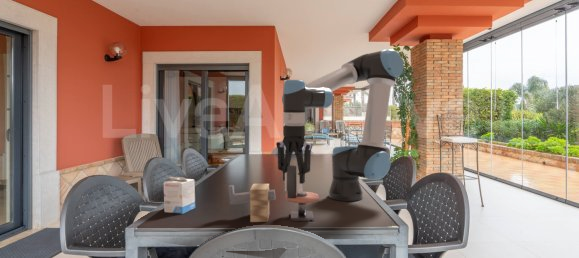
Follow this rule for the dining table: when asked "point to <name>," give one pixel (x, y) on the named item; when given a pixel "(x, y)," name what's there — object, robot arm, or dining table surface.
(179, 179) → the ink box
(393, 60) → the robot arm
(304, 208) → the wheel post
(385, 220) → the dining table surface
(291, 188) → the handwheel
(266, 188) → the eye block
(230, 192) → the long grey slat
